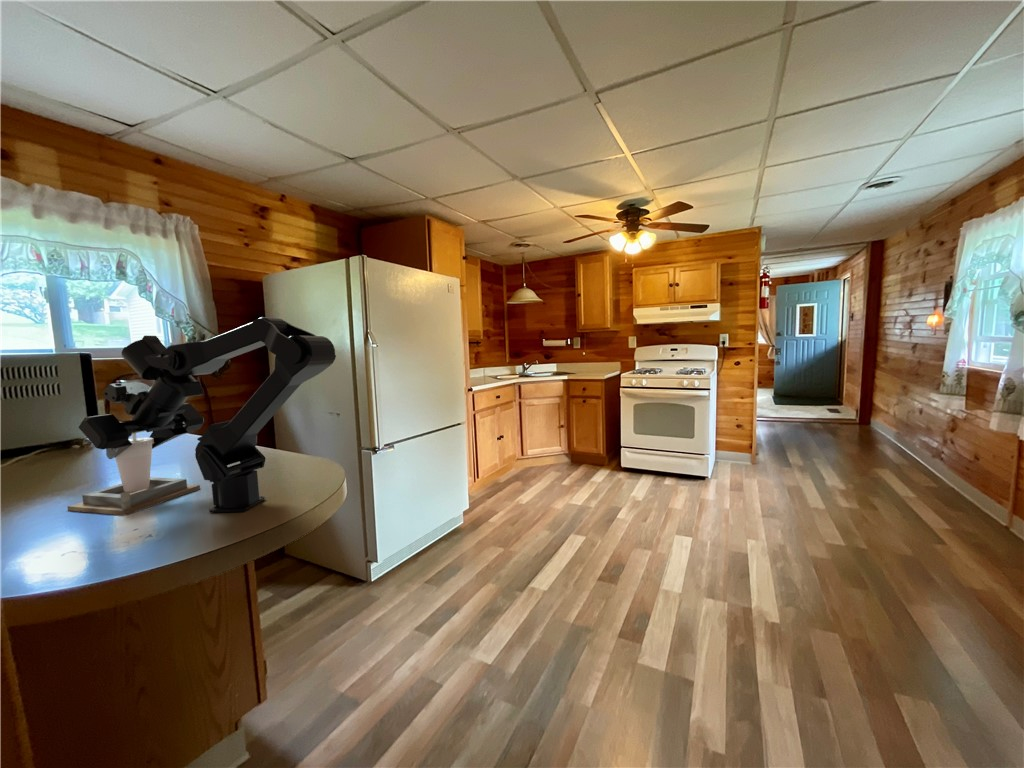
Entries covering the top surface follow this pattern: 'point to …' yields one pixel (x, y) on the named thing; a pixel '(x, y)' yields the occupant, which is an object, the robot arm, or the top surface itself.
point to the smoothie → (135, 464)
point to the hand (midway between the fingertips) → (128, 453)
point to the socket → (133, 497)
